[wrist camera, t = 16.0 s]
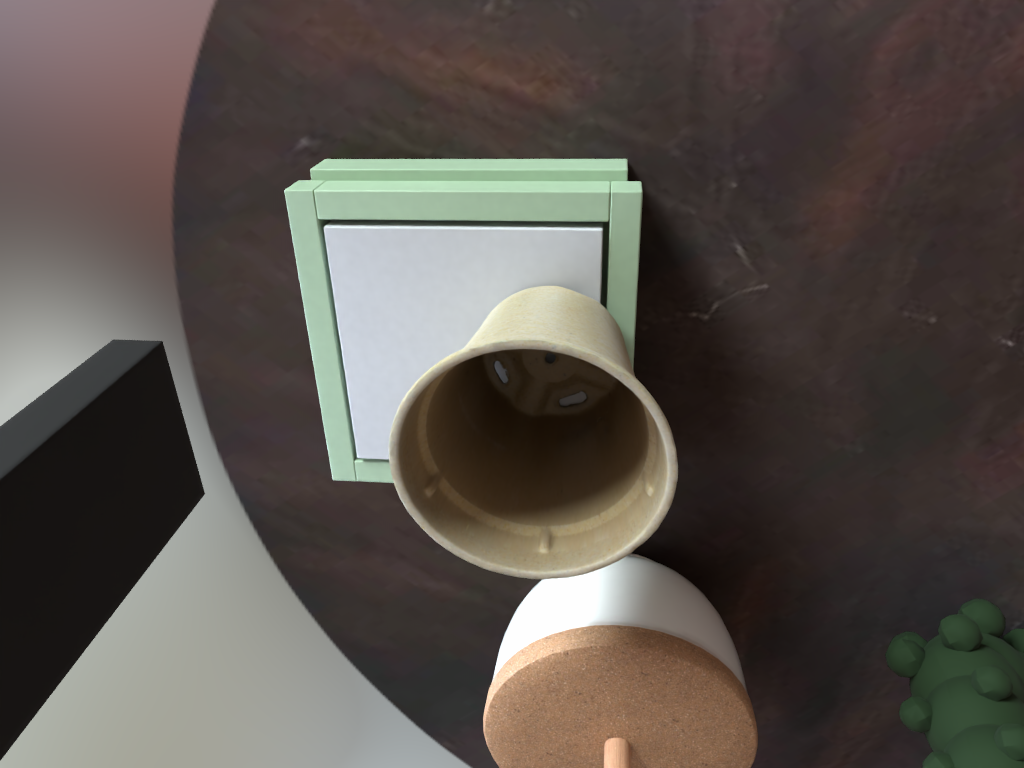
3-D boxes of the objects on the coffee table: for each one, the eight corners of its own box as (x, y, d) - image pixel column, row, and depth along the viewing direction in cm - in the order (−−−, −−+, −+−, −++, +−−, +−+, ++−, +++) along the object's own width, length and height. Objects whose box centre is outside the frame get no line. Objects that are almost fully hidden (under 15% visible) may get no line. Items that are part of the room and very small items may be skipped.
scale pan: (335, 215, 32) (322, 227, 31) (603, 218, 31) (602, 229, 30) (366, 440, 38) (357, 458, 36) (596, 450, 36) (595, 469, 35)
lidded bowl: (768, 641, 44) (811, 832, 34) (573, 700, 48) (563, 886, 38) (670, 477, 39) (687, 645, 30) (464, 559, 43) (421, 729, 34)
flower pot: (556, 483, 36) (541, 622, 28) (397, 355, 34) (333, 469, 26) (711, 352, 32) (741, 474, 24) (542, 197, 29) (516, 277, 22)
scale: (312, 159, 34) (281, 178, 30) (640, 158, 32) (643, 179, 29) (355, 448, 41) (333, 488, 38) (625, 460, 39) (626, 502, 36)
